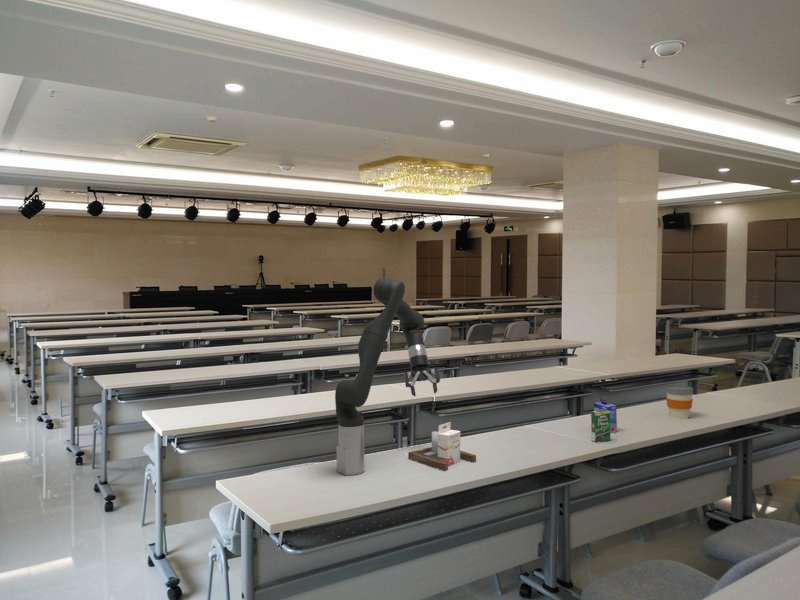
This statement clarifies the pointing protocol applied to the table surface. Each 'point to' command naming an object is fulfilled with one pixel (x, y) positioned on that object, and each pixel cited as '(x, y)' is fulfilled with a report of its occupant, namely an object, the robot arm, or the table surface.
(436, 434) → the grey block with knob
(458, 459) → the ink cartridge box
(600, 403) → the ink cartridge box
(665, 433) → the table surface
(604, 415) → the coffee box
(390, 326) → the robot arm
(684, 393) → the reusable coffee cup
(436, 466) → the brown wooden frame
